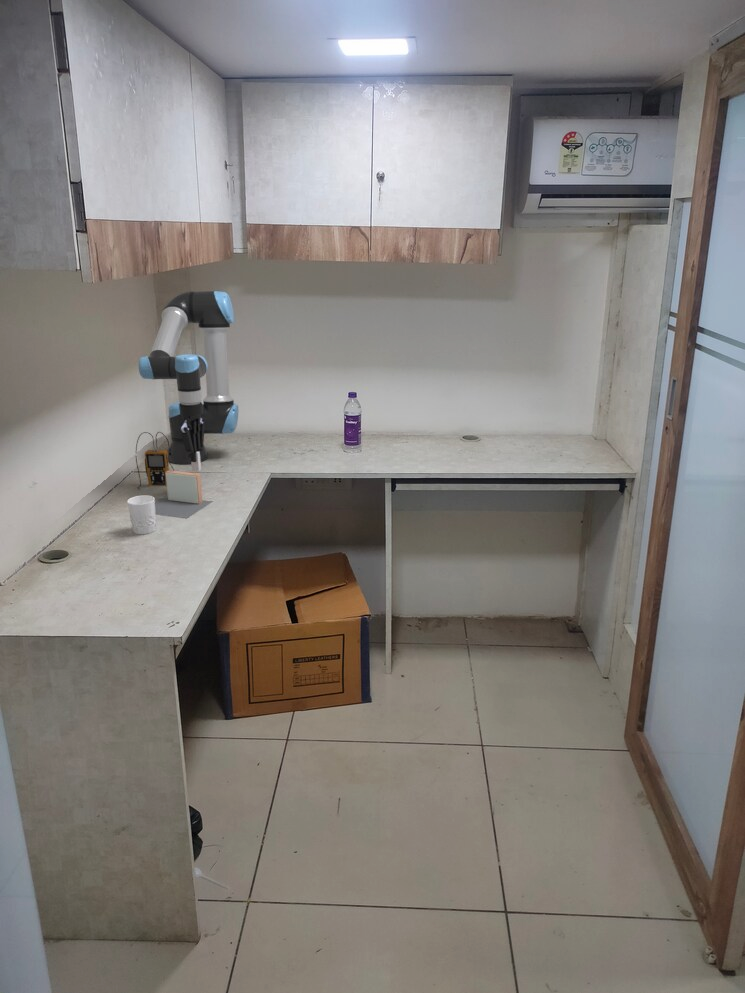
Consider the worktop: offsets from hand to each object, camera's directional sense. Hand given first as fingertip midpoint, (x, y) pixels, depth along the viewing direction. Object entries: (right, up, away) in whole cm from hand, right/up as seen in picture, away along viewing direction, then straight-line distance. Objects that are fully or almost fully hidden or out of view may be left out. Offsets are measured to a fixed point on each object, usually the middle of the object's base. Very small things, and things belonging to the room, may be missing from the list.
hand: (196, 469), depth 245 cm
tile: (-3, -11, -5) cm, 12 cm away
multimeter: (-16, -7, +8) cm, 19 cm away
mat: (-4, -13, -9) cm, 17 cm away
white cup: (-9, -20, -26) cm, 34 cm away
